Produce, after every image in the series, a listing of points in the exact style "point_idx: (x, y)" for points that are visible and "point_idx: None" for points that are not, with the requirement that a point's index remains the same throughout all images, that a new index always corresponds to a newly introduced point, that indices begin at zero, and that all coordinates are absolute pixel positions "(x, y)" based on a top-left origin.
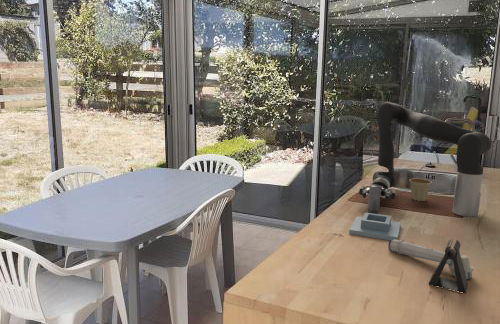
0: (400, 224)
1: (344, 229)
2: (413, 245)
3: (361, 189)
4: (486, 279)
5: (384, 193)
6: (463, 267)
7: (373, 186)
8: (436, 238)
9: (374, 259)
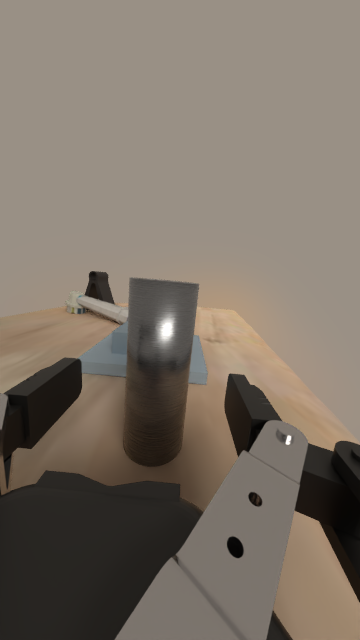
0: (81, 356)
1: (211, 350)
2: (113, 304)
3: (336, 444)
4: (52, 310)
5: (3, 471)
6: (85, 294)
7: (175, 281)
8: (21, 344)
9: None
